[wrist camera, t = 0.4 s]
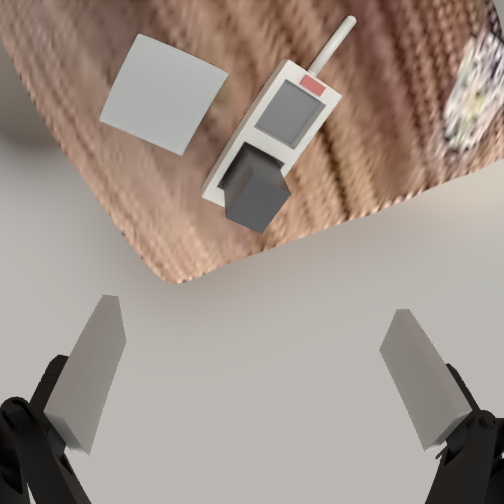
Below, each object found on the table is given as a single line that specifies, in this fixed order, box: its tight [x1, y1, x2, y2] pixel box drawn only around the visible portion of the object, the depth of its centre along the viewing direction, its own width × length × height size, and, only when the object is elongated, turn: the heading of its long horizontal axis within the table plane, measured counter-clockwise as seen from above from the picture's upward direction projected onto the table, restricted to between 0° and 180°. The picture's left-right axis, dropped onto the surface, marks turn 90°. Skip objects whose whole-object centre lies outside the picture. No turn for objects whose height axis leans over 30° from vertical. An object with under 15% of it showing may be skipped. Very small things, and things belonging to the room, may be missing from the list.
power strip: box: [202, 16, 356, 207], centre depth 31 cm, size 27×7×4 cm, turn 149°
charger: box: [223, 141, 291, 234], centre depth 32 cm, size 5×4×10 cm
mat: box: [99, 34, 229, 156], centre depth 30 cm, size 11×11×1 cm
